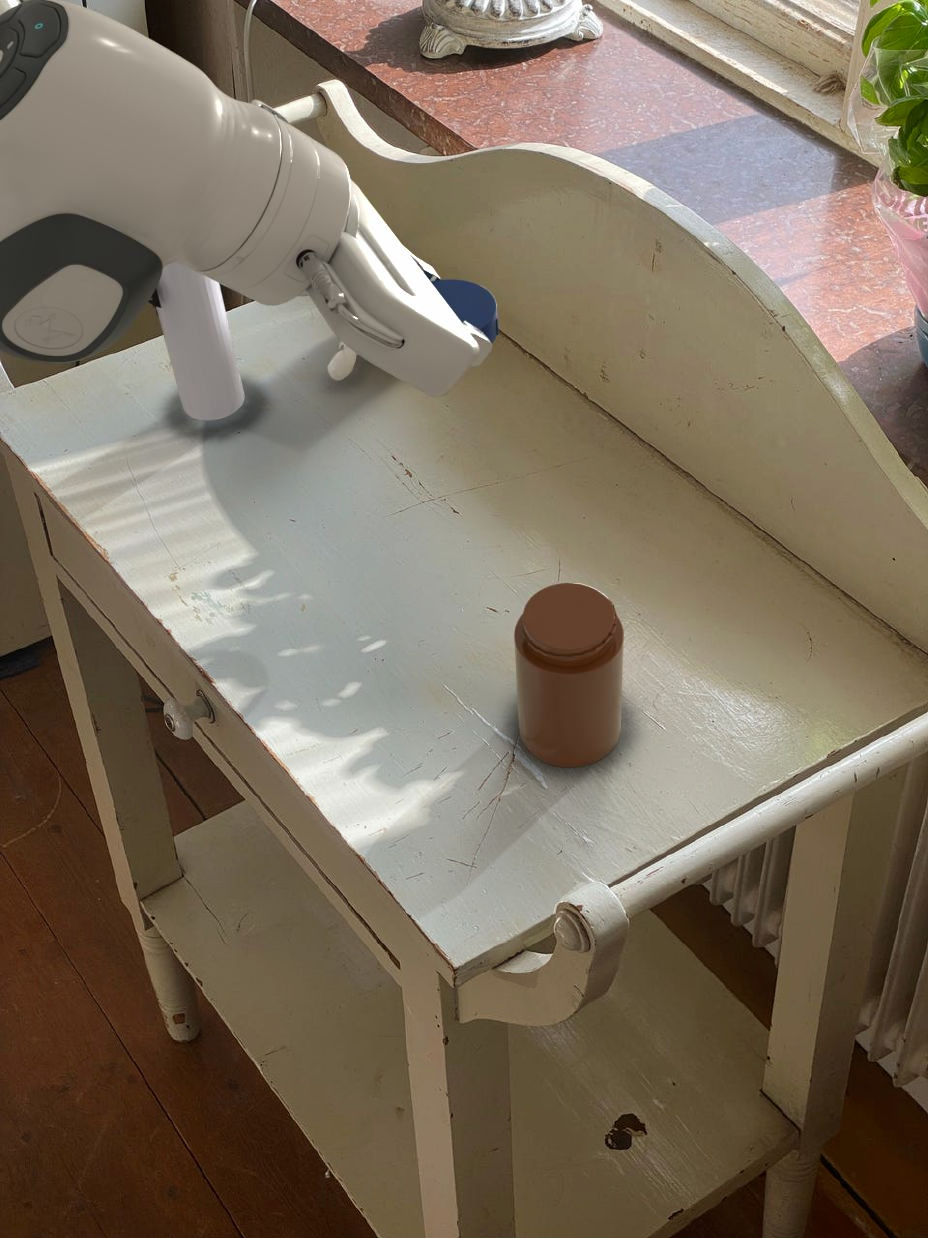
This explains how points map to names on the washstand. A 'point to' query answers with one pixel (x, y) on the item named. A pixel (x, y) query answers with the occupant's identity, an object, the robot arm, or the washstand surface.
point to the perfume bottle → (198, 342)
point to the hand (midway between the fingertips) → (455, 317)
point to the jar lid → (470, 304)
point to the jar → (569, 675)
